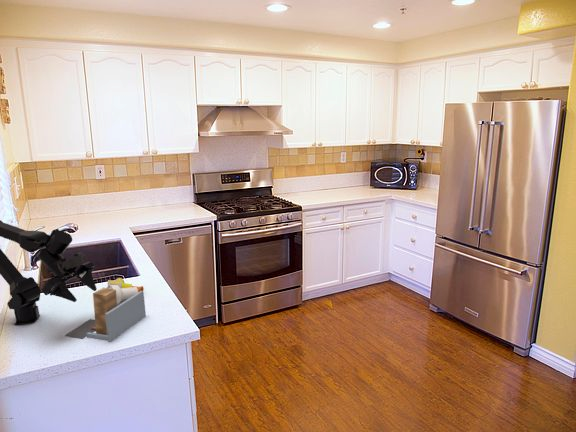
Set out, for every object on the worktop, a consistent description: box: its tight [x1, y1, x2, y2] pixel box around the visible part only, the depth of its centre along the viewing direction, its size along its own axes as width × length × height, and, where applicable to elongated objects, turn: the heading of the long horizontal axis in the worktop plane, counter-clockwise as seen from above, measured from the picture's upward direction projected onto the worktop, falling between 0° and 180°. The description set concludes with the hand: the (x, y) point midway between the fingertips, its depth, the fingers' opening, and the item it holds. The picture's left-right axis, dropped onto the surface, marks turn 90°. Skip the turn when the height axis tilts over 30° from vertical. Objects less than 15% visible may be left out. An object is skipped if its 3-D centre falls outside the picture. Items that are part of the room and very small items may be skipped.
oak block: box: [91, 287, 118, 335], centre depth 140 cm, size 9×5×15 cm, turn 74°
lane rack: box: [86, 290, 147, 343], centre depth 144 cm, size 10×19×10 cm, turn 164°
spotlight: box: [106, 285, 138, 306], centre depth 165 cm, size 8×11×8 cm
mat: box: [64, 318, 96, 340], centre depth 144 cm, size 8×12×1 cm, turn 164°
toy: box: [107, 277, 145, 292], centre depth 175 cm, size 5×15×10 cm
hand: (86, 295), depth 140 cm, fingers open, 9 cm apart
